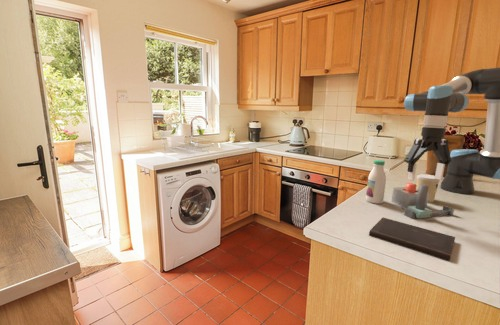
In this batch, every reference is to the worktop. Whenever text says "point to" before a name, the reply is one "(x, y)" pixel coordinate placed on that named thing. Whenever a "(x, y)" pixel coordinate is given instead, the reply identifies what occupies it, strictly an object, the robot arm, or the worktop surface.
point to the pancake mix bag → (453, 144)
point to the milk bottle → (376, 183)
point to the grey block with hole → (405, 197)
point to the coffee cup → (428, 184)
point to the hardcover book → (414, 238)
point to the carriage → (421, 203)
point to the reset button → (411, 187)
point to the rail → (445, 211)
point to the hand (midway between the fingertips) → (424, 179)
